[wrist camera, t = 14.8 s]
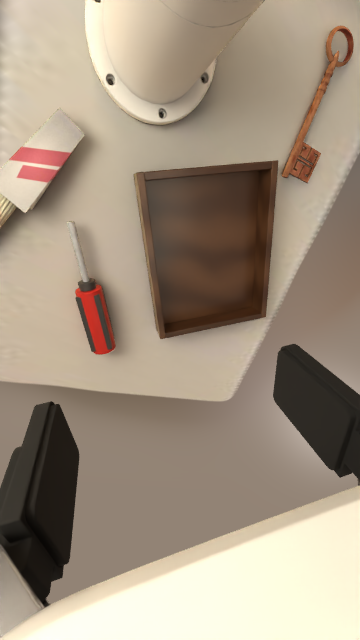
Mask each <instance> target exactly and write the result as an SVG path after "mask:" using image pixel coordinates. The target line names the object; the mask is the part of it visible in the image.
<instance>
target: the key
mask: <svg viewBox="0 0 360 640" xmlns="http://www.w3.org/2000/svg"><path fill="white" fill-rule="evenodd" d="M336 31H341V32H343V33H344V34H345V36H346V38H347V41H348V53H347V56H346V58H345V60H344V61H343V62H338V57H339V51H337V53H336V54H335V55H334V56H333V54H332V51H331V42H332V38H333V36H334V34H335V32H336ZM353 47H354V43H353V37H352V34H351V32H350V30H349V29H348V28H346V27H344V26H337V27H335V28H334V29H333V30H332V31H331V33H330V34H329V36H328V39H327V42H326V54H327V57H328V60H329V61H330V64H329V66H328V69H327V71H326V72H325V74H324V78H323V79H322V81H321V85H320V86H319V87H318V89H317V93H316V96H315V98H314V100H313V103H312V105H311V108H310V110H309V112H308V115H307V117H306V119H305V122H304V124H303V126H302V129H301V131H300V133H299V136H298V138H297V140H296V143H295V145H294V147H293V150H292V152H291V154H290V157H289V159H288V161H287V164H286V166H285V169H284V171H283V173H282V176H283V177H285V178H287V177H288V175H289V173H290V174H292V175H293V176H295V177H298V178H299V179H301V180H302V181H304V182H306V183H308V181H309V178H310V176H311V174H312V172H313V170H314V168H315V166H316V163H317V161H318V159H319V157H320V155H321V153H319V152H318V151H316V150H315V149H313V148H311V147H310V146H309V145H307V144H306V143H304V142H303V141H304V138H305V136H306V134H307V131H308V129H309V127H310V125H311V122H312V120H313V118H314V115H315V113H316V111H317V108H318V106H319V104H320V102H321V99H322V97H323V95H324V94H325V92H326V89H327V85H328V84H329V81H330V77H332V74H333V71H334V68H335V66H336V67H341V66H343V65H345V64H346V63H347V62H348V61H349V59H350V58H351V55H352V53H353ZM302 147H305V149H304V148H302ZM301 149H302V150H301ZM308 153H309V154H308ZM299 154H300V155H299ZM314 154H316V155H317V157H316V156H315V155H314ZM307 155H308V156H307ZM298 156H301V157H302V158H304V159H306V160H307V161H309V162H310V163H313V165H311V164H310V163H308V162H306V161H305V160H303V159H301V158H300V157H298ZM315 158H316V159H315ZM297 159H298V160H300V161H302V162H303V163H305V164H307V165H308V166H310V167H312V168H309V167H307V166H306V165H303V164H302V163H301V162H299V161H297V162H296V160H297ZM295 163H296V164H295ZM294 165H295V166H294ZM302 166H303V167H302ZM293 167H294V168H295V169H296V170H294V169H293ZM310 169H311V170H310ZM300 171H301V172H300ZM299 173H300V174H299ZM305 174H306V175H308V176H307V177H306V176H305ZM298 175H299V176H298Z"/></svg>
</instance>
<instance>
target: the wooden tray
mask: <svg viewBox="0 0 360 640" xmlns="http://www.w3.org/2000/svg"><path fill="white" fill-rule="evenodd" d="M277 171H278V160H277V161H266V162H254V163H243V164H231V165H220V166H208V167H196V168H185V169H173V170H162V171H150V172H139V173H136V174H134V180H135V187H136V194H137V201H138V207H139V214H140V221H141V228H142V235H143V241H144V248H145V255H146V262H147V268H148V275H149V282H150V289H151V295H152V302H153V309H154V316H155V322H156V329H157V331H158V334H159V337H160V339H164V338H169V337H174V336H178V335H183V334H188V333H193V332H197V331H202V330H207V329H211V328H216V327H221V326H226V325H230V324H235V323H240V322H245V321H249V320H254V319H259V318H264V317H266V309H267V297H268V284H269V272H270V259H271V247H272V234H273V222H274V209H275V196H276V184H277Z"/></svg>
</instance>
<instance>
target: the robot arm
mask: <svg viewBox="0 0 360 640" xmlns="http://www.w3.org/2000/svg"><path fill="white" fill-rule="evenodd" d="M263 2H264V0H100V3H97V2H95V0H86V2H85V29H86V38H87V43H88V49H89V54H90V57H91V60H92V63H93V66H94V69H95V71H96V73H97V75H98V77H99V79H100V82H101V84H102V85H103V87H104V88H105V90H106V91H107V93H108V94H109V96H110V97H111V98H112V99H113V101H114V102H115V103H116V104H117V105H118V106H119V107H120V108H121V109H122V110H124V111H125V112H126V113H128V114H129V115H130V116H132V117H134V118H136V119H138V120H140V121H142V122H146V123H150V124H156V125H165V124H169V123H173V122H176V121H178V120H180V119H182V118H184V117H185V116H186V115H188V114H189V113H190V112H191V111H193V110H194V108H195V107H196V106H197V105H198V104H199V103H200V102H201V100H202V99H203V97H204V96H205V94H206V92H207V90H208V88H209V86H210V84H211V81H212V78H213V74H214V70H215V67H216V60H217V56H218V55H219V54H220V53H221V51H222V50H223V49H224V48H225V47H226V46H227V44H228V43H229V42H230V41H231V40H232V38H233V37H234V36H235V35H236V34H237V32H238V31H239V30H240V29H241V28H242V27H243V25H244V24H245V23H246V22H247V21H248V19H249V18H250V17H251V16H252V15H253V14H254V12H255V11H256V10H257V9H258V8H259V6H260V5H261V4H262V3H263ZM201 78H203V80H204V83H202V81H201ZM108 80H112V81H113V85H109V84H108ZM159 113H162V114H163V118H160V116H159ZM273 397H274V400H275V402H276V404H277V405H278V406H279V407H280V409H281V410H282V411H283V412H284V414H285V415H286V416H287V417H288V419H289V420H290V421H291V422H292V424H293V425H294V426H295V427H296V429H297V430H298V431H299V432H300V433H301V435H302V436H303V437H304V438H305V440H306V441H307V442H308V443H309V445H310V446H311V447H312V448H313V450H314V451H315V452H316V453H317V455H318V456H319V457H320V458H321V460H322V461H323V462H324V463H325V465H326V466H327V467H328V468H329V469H331V470H334V471H335V472H336V473H337V475H338V476H339V477H343V476H345V475H349V474H351V473H352V472H353V473H354V475H355V476H356V477H357V478H358V486H357V487H354V488H351V489H348V490H345V491H343V492H340V493H337V494H335V495H332V496H329V497H326V498H323V499H321V500H318V501H315V502H312V503H310V504H307V505H304V506H301V507H299V508H296V509H293V510H291V511H288V512H285V513H282V514H280V515H277V516H275V517H272V518H269V519H266V520H264V521H261V522H258V523H256V524H253V525H250V526H248V527H245V528H242V529H239V530H237V531H234V532H232V533H229V534H226V535H223V536H221V537H218V538H216V539H213V540H210V541H207V542H205V543H202V544H199V545H197V546H194V547H192V548H189V549H186V550H184V551H181V552H178V553H176V554H173V555H170V556H168V557H165V558H162V559H160V560H157V561H155V562H152V563H149V564H147V565H144V566H141V567H139V568H136V569H133V570H131V571H129V572H126V573H123V574H121V575H118V576H116V577H114V578H111V579H108V580H106V581H104V582H101V583H99V584H96V585H93V586H91V587H88V588H86V589H83V590H81V591H79V592H77V593H75V594H72V595H70V596H68V597H66V598H64V599H62V600H60V601H57V602H55V603H53V604H50V603H49V601H48V600H47V598H46V597H47V596H48V595H49V593H50V587H51V582H52V581H54V580H57V579H60V578H62V576H63V566H64V565H65V564H67V563H68V562H69V559H70V550H71V540H72V529H73V519H74V507H75V497H76V487H77V476H78V465H79V451H78V448H77V445H76V443H75V440H74V438H73V436H72V433H71V431H70V428H69V426H68V424H67V421H66V419H65V417H64V414H63V412H62V409H61V407H60V405H59V404H56V405H55V404H54V403H53V402H47V403H43V404H39V405H36V406H35V407H34V410H33V413H32V416H31V419H30V422H29V425H28V429H27V432H26V435H25V438H24V441H23V444H22V446H21V447H18V448H16V449H15V450H14V452H13V454H12V456H11V459H10V462H9V465H8V468H7V470H6V474H5V476H4V479H3V482H2V485H1V488H0V640H360V395H359V394H358V393H356V392H355V391H354V390H353V389H351V388H350V387H349V386H348V385H346V384H345V383H344V382H343V381H342V380H340V379H339V378H338V377H337V376H335V375H334V374H333V373H331V372H330V371H329V370H328V369H326V368H325V367H324V366H323V365H321V364H320V363H319V362H318V361H317V360H315V359H314V358H313V357H312V356H310V355H309V354H308V353H307V352H305V351H304V350H303V349H301V348H300V347H299V346H298V345H296V344H292V345H288V346H284V347H282V348H281V350H280V351H279V352H278V358H277V366H276V375H275V384H274V393H273Z"/></svg>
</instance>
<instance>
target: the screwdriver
mask: <svg viewBox="0 0 360 640" xmlns="http://www.w3.org/2000/svg"><path fill="white" fill-rule="evenodd" d="M67 226H68V230H69V233H70V237H71V240H72V244H73V248H74V251H75V255H76V259H77V262H78V266H79V269H80V273H81V277H82V280H81V281H79V282H78V285H79V288H78V289H77V290H76V291H75V293H76V296H77V297H76V301H77V304H78V308H79V311H80V314H81V318H82V321H83V324H84V328H85V331H86V334H87V338H88V341H89V344H90V348H91V351H92V352H94V353H95V354H106V353H109V352H111V351H112V350H114V348H115V346H116V345H115V340H114V339H115V338H114V334H113V330H112V326H111V322H110V318H109V314H108V310H107V305H106V301H105V297H104V293H103V289H102V287H101V286H100V285H96V283H95V280H94V279H89V276H88V273H87V269H86V265H85V261H84V257H83V254H82V250H81V246H80V242H79V238H78V235H77V231H76V227H75V223H74V221H69V222H67Z"/></svg>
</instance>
